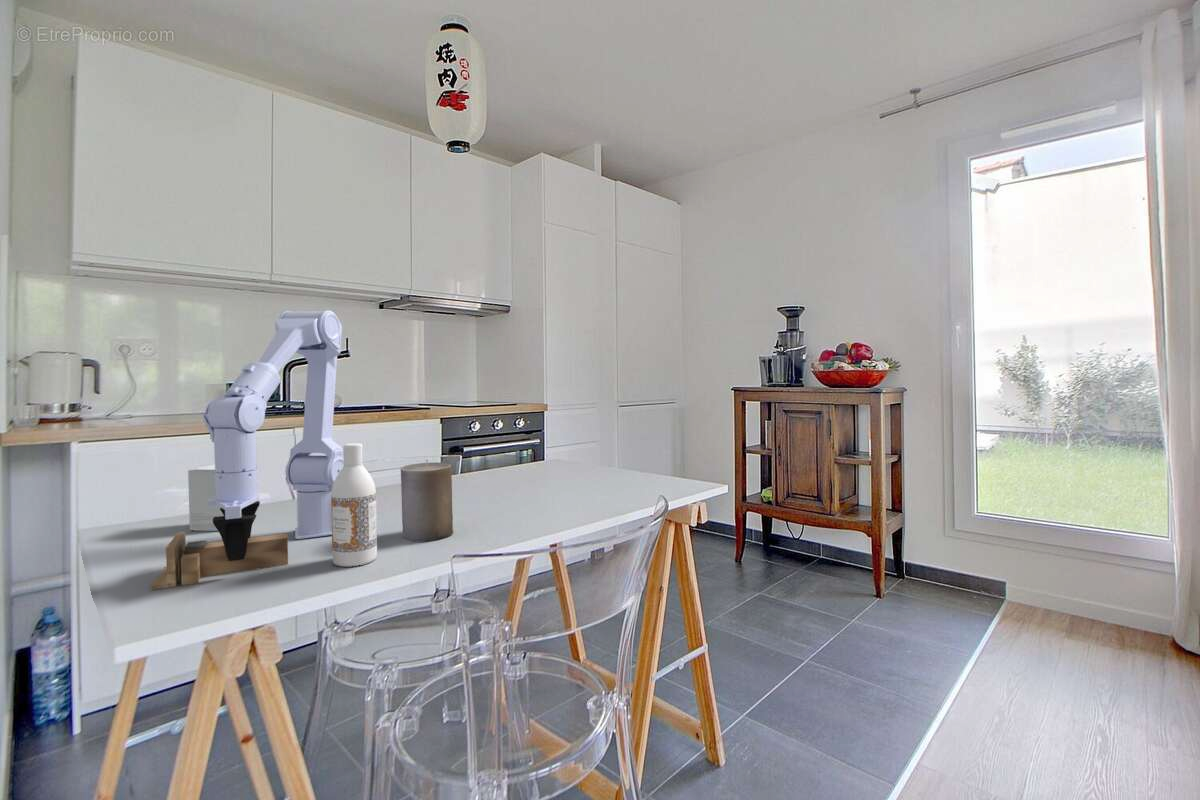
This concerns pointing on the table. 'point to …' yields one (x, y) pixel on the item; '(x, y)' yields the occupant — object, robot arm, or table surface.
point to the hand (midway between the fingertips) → (239, 552)
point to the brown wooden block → (257, 555)
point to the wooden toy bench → (178, 565)
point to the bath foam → (353, 512)
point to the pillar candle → (426, 501)
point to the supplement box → (202, 498)
